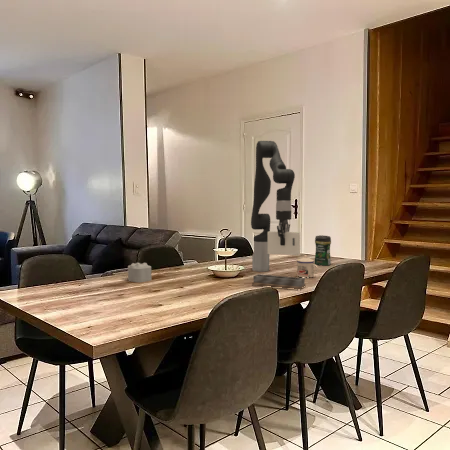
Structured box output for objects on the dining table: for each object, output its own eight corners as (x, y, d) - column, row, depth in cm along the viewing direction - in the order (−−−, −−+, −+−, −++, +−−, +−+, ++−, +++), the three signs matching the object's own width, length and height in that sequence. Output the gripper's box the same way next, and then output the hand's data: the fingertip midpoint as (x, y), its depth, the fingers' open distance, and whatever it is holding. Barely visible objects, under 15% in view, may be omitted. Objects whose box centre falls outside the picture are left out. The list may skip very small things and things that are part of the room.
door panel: (267, 253, 223) (267, 231, 222) (269, 253, 226) (269, 231, 225) (298, 255, 216) (298, 232, 215) (300, 254, 219) (300, 232, 218)
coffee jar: (312, 264, 281) (312, 235, 280) (319, 263, 287) (319, 234, 285) (326, 266, 274) (326, 236, 273) (332, 265, 280) (333, 235, 279)
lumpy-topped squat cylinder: (137, 283, 227) (136, 266, 227) (123, 279, 237) (123, 263, 236) (154, 280, 235) (153, 263, 234) (140, 276, 244) (139, 261, 243)
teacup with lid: (293, 277, 241) (293, 255, 241) (302, 274, 248) (302, 253, 247) (313, 279, 234) (313, 257, 233) (321, 277, 240) (322, 255, 240)
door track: (252, 285, 219) (252, 276, 219) (259, 282, 227) (259, 273, 227) (299, 290, 208) (299, 281, 208) (305, 286, 216) (305, 277, 216)
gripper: (281, 209, 228) (280, 243, 229) (271, 210, 215) (271, 246, 216) (295, 209, 224) (295, 244, 225) (286, 210, 212) (286, 246, 213)
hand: (283, 244), depth 221 cm, fingers closed on door panel, 2 cm apart
